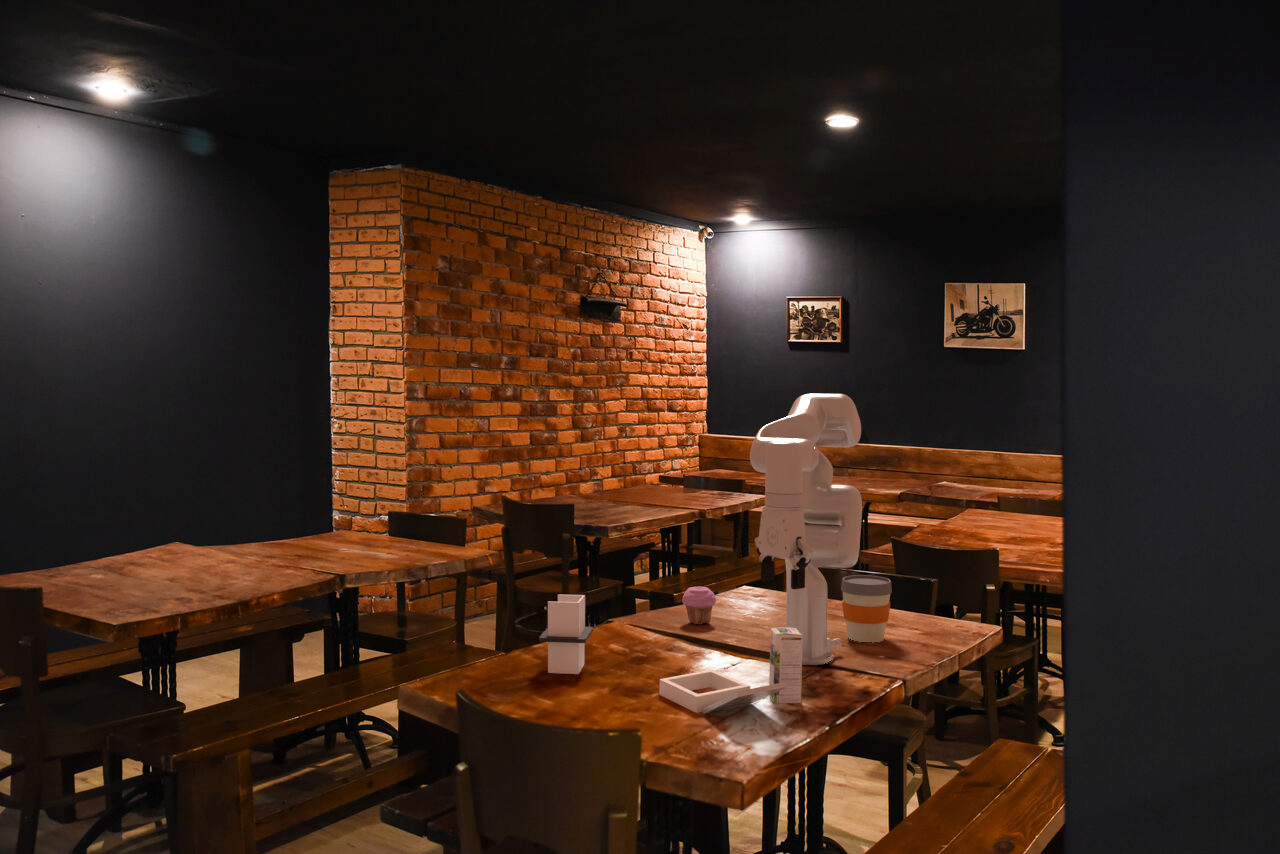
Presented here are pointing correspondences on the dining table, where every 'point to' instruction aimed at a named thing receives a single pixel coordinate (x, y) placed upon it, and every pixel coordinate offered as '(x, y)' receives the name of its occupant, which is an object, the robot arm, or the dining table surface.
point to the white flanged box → (566, 634)
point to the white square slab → (744, 697)
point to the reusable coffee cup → (866, 606)
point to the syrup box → (786, 664)
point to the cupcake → (699, 604)
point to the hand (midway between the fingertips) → (782, 584)
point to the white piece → (683, 685)
